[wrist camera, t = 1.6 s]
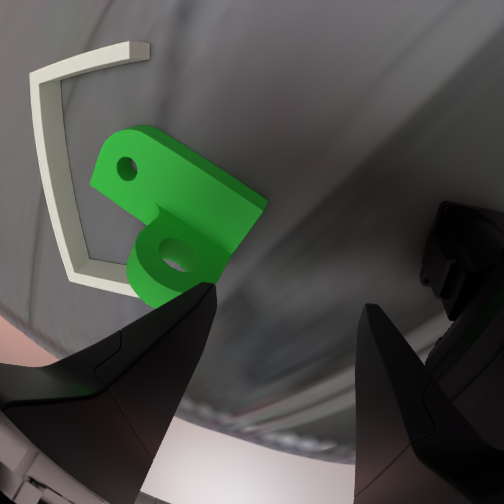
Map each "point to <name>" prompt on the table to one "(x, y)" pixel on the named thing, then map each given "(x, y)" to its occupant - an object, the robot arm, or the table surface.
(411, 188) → the table surface
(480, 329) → the robot arm
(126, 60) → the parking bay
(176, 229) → the mechanical part
